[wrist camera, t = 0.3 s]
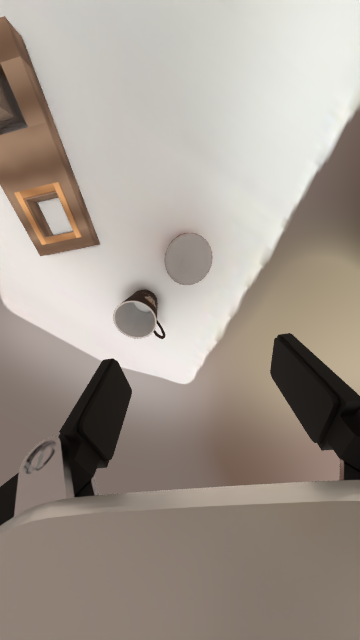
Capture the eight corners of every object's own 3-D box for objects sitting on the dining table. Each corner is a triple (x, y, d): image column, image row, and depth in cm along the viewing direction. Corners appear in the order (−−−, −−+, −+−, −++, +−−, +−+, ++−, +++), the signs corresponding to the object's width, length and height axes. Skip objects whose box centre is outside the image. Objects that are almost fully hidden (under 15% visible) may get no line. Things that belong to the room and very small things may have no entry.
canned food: (166, 267, 36) (160, 280, 27) (172, 228, 33) (169, 227, 23) (198, 275, 37) (204, 289, 28) (208, 237, 33) (219, 239, 24)
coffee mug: (121, 290, 39) (105, 307, 30) (154, 280, 38) (146, 295, 29) (140, 329, 44) (131, 352, 36) (169, 321, 43) (167, 344, 35)
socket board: (-53, 63, 23) (-82, 42, 20) (22, 37, 22) (2, 13, 19) (49, 254, 35) (39, 256, 33) (100, 244, 34) (93, 245, 32)
